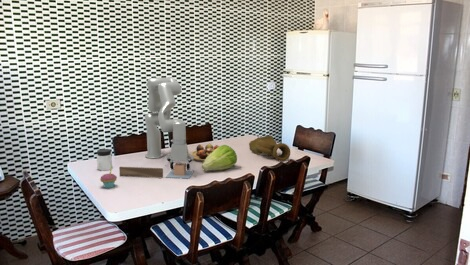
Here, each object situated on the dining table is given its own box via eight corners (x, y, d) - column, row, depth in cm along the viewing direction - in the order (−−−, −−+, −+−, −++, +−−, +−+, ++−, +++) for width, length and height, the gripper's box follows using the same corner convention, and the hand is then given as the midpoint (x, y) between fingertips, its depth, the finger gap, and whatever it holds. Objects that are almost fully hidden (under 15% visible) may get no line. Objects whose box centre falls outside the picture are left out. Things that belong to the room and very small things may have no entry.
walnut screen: (120, 175, 226) (120, 166, 225) (163, 177, 224) (162, 168, 223) (119, 176, 225) (119, 167, 224) (162, 177, 223) (162, 169, 222)
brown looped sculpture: (280, 138, 288) (294, 140, 261) (274, 159, 288) (288, 163, 261) (252, 130, 283) (264, 131, 256) (246, 151, 282) (257, 154, 255)
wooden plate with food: (213, 166, 249) (213, 154, 247) (179, 157, 268) (178, 146, 266) (241, 156, 274) (242, 145, 272) (208, 149, 293) (208, 138, 291)
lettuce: (214, 182, 230) (201, 179, 243) (242, 162, 243) (228, 160, 256) (206, 161, 226) (192, 159, 238) (235, 142, 239) (220, 141, 251)
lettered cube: (176, 172, 232) (176, 162, 231) (186, 172, 232) (185, 162, 230) (174, 175, 226) (173, 165, 225) (183, 175, 226) (183, 165, 224)
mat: (171, 170, 236) (171, 169, 236) (193, 171, 235) (193, 170, 235) (165, 177, 223) (165, 176, 223) (189, 178, 222) (189, 177, 221)
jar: (94, 169, 238) (93, 150, 236) (105, 166, 245) (104, 148, 242) (104, 171, 234) (103, 152, 231) (114, 168, 241) (113, 150, 238)
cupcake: (118, 183, 212) (117, 163, 210) (114, 189, 204) (113, 167, 201) (103, 183, 212) (102, 163, 209) (98, 189, 203) (97, 167, 201)
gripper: (163, 142, 222) (164, 170, 225) (192, 143, 220) (192, 171, 224) (167, 140, 229) (167, 167, 233) (195, 140, 228) (195, 168, 231)
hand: (180, 169), depth 228 cm, fingers open, 9 cm apart
